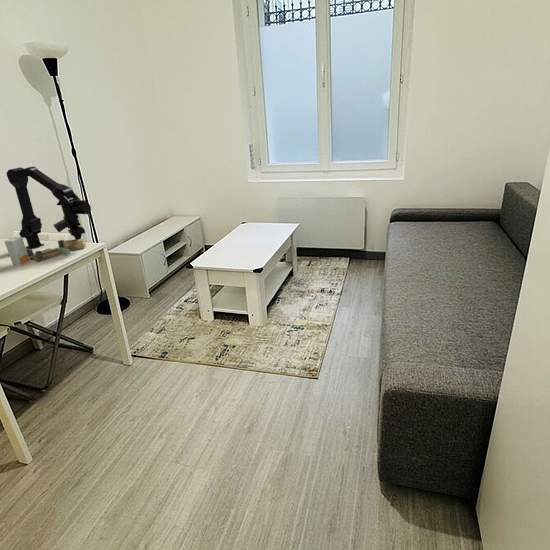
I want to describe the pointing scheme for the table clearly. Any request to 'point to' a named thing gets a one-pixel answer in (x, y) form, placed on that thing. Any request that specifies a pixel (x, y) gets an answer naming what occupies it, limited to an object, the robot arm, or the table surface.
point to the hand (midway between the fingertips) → (78, 243)
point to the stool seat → (43, 254)
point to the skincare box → (17, 251)
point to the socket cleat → (64, 251)
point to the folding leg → (72, 244)
